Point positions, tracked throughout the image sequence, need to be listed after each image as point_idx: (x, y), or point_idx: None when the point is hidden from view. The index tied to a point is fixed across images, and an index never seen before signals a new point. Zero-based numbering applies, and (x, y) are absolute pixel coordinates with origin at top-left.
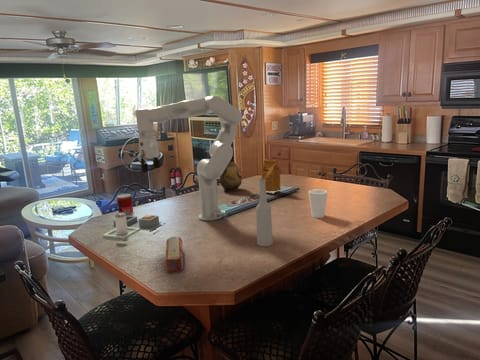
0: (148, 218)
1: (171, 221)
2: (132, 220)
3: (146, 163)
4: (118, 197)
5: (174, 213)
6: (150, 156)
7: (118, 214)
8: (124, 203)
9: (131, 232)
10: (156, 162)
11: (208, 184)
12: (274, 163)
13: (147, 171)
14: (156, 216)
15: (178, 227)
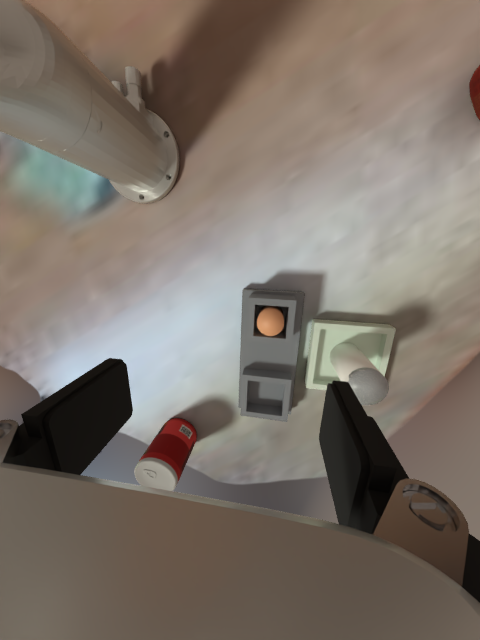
0: (282, 315)
1: (207, 276)
2: (265, 374)
3: (382, 477)
4: (176, 484)
5: (142, 305)
6: (364, 620)
7: (370, 392)
8: (180, 452)
9: (355, 327)
10: (84, 417)
11: (36, 23)
12: None
13: (347, 383)
14: (256, 300)
15: (253, 223)
